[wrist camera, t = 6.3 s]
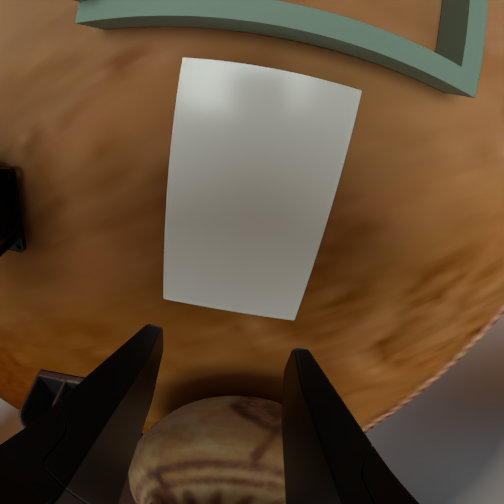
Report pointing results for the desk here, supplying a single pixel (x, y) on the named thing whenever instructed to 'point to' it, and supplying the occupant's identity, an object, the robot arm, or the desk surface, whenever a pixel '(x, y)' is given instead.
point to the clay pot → (212, 454)
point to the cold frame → (320, 32)
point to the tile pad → (251, 184)
